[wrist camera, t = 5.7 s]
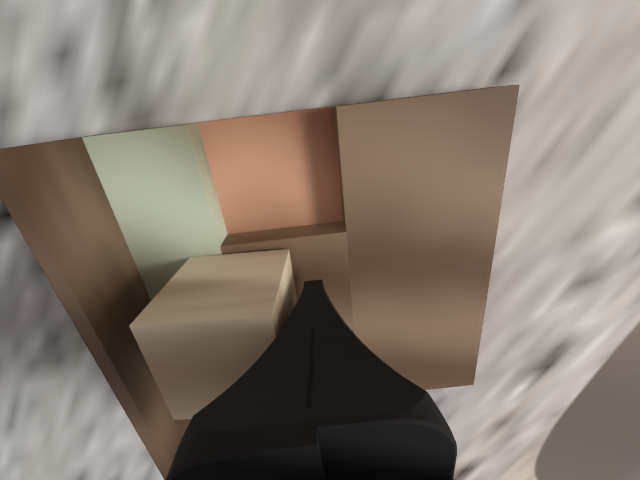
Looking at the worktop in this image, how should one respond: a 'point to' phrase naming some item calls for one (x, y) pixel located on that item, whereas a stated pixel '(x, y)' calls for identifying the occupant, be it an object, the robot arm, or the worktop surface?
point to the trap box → (278, 226)
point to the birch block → (213, 324)
